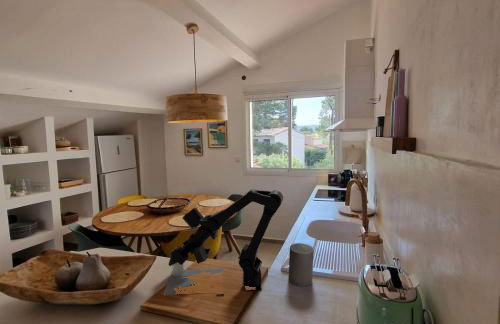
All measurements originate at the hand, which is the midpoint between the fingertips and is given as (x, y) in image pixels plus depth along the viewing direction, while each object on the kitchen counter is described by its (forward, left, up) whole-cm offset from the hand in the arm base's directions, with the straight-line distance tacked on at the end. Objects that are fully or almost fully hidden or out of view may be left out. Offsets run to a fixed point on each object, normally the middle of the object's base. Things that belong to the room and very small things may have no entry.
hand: (174, 259), depth 113 cm
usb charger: (-1, 0, -6) cm, 6 cm away
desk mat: (-9, +6, -7) cm, 13 cm away
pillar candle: (-51, +7, -7) cm, 52 cm away
